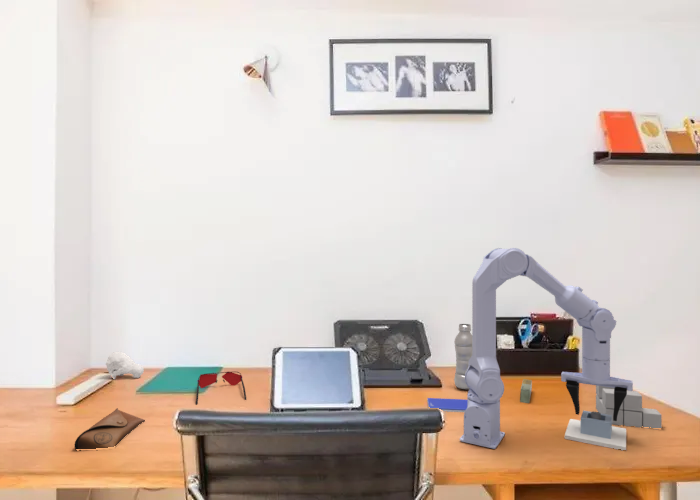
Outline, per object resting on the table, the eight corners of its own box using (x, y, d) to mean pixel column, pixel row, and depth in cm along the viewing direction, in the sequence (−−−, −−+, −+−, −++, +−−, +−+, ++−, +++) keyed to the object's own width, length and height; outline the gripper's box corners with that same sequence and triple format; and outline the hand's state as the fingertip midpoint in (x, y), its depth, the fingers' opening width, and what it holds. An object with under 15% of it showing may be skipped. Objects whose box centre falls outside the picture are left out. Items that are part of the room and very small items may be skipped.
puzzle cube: (661, 430, 108) (661, 397, 108) (605, 424, 112) (605, 392, 112) (646, 413, 119) (646, 383, 119) (595, 408, 123) (595, 379, 123)
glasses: (242, 385, 145) (242, 369, 145) (246, 401, 129) (246, 383, 129) (196, 388, 141) (197, 372, 141) (195, 406, 125) (195, 388, 125)
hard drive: (429, 407, 120) (476, 409, 119) (427, 397, 128) (471, 398, 127) (429, 413, 120) (476, 415, 119) (427, 402, 128) (471, 404, 127)
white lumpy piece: (116, 349, 155) (149, 353, 154) (114, 373, 155) (147, 378, 154) (104, 353, 149) (139, 357, 148) (102, 379, 149) (136, 383, 148)
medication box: (529, 404, 127) (530, 390, 127) (519, 402, 128) (520, 388, 128) (531, 392, 138) (532, 379, 137) (522, 390, 139) (522, 378, 139)
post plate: (626, 451, 96) (626, 426, 96) (564, 438, 102) (564, 415, 102) (626, 432, 106) (626, 410, 106) (570, 421, 113) (570, 401, 113)
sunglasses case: (114, 450, 96) (98, 423, 96) (85, 467, 95) (69, 441, 95) (147, 419, 114) (134, 396, 114) (123, 433, 113) (109, 411, 113)
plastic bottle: (478, 387, 141) (478, 324, 141) (471, 393, 135) (471, 327, 136) (458, 384, 145) (458, 322, 145) (451, 389, 139) (451, 325, 139)
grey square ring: (610, 439, 100) (610, 423, 100) (580, 433, 104) (580, 418, 104) (611, 430, 105) (611, 415, 105) (583, 424, 109) (583, 410, 109)
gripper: (632, 358, 104) (632, 417, 104) (563, 351, 112) (563, 405, 112) (632, 365, 98) (632, 427, 98) (560, 356, 106) (560, 414, 106)
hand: (595, 416), depth 104 cm, fingers open, 7 cm apart
